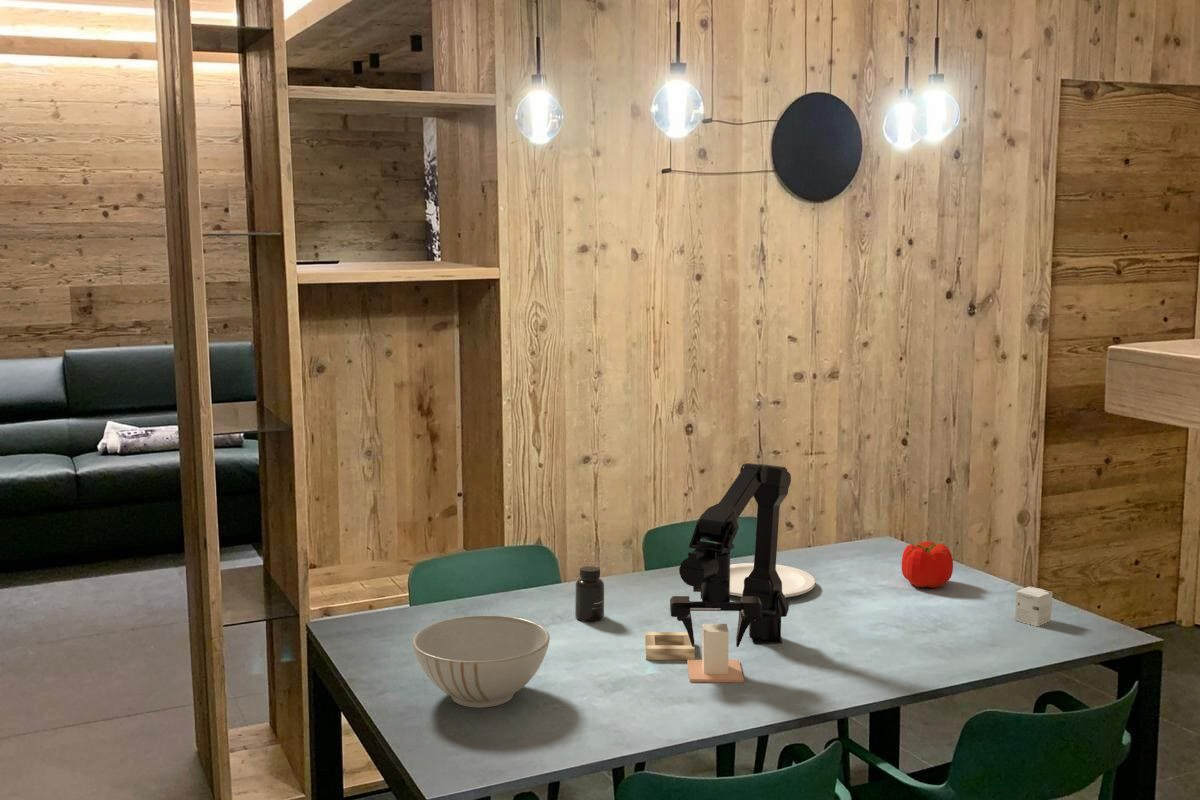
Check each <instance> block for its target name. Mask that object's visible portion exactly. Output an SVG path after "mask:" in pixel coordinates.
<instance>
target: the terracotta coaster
mask: <svg viewBox="0 0 1200 800" xmlns="http://www.w3.org/2000/svg"><path fill="white" fill-rule="evenodd" d="M686 664H687V672H688V679H689V682H690V683H744V682H745V678H744V674H743V671H742V670H743V669H742V667H741V663H740V659H728V674H704V672H703V667H702V659H695V660H686Z"/></svg>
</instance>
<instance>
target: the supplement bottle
mask: <svg viewBox="0 0 1200 800" xmlns="http://www.w3.org/2000/svg"><path fill="white" fill-rule="evenodd" d="M600 577H601V568H600V567H598V566H594V565H590V566H587V565H586V566H582V567H580V568H579V578H578V579H577V580H576V582H575V589H574V590H575V603H574V605H575V606H574V607H575V611H574V612H575V618H576V619H577V620H579V621H582V622H589V623H591V622H597V621H598V622H599V621H601V620H603V618H604V616H605V582H604V580H603V579H601V578H600Z"/></svg>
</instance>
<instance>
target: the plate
mask: <svg viewBox="0 0 1200 800" xmlns="http://www.w3.org/2000/svg"><path fill="white" fill-rule="evenodd" d="M753 568H754V562H746V563H745V562H743V563H733V564H732V563H730V596H737V597H741V596H743V590H744V580H745V578H746V577H748V576H749V575H750V573H751V572H752V571H753ZM776 572H777V574H778V576H779V577H780V579H781V581H782V593H783V594H784V596H785V598H791V597H796V596H800V595H803V594H806V593H808V592H810V591H811V590H813V589H814V588H815V586H816V579H815V577H814V576H813V575H812V574H810V573H809V572H807V571H805V570H801V569H799V568H797V567H792V566H788V565H781V564H777V563H776Z"/></svg>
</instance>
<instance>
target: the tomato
mask: <svg viewBox="0 0 1200 800" xmlns="http://www.w3.org/2000/svg"><path fill="white" fill-rule="evenodd" d="M953 571H954V559H953V555H952V553H951V550H950V549H949V547H948V546H947V545H945V544H943V543H935V542H933V541H929V540H926V541H921V542H919V543H916V544H907V545H906V547H905V548H904V550H903V553H902V555H901V572H902V573H901V574H902V575H903V578H905V579H906V580H907V581H908V582H909V583H910V584H911V585H913V586H915V587H917V588H925V587H928V588H930V589H937V588H939V587H941V586H944V585H946V583H947V582H948V581H949V580H950V579H951V578H952V575H953Z"/></svg>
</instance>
